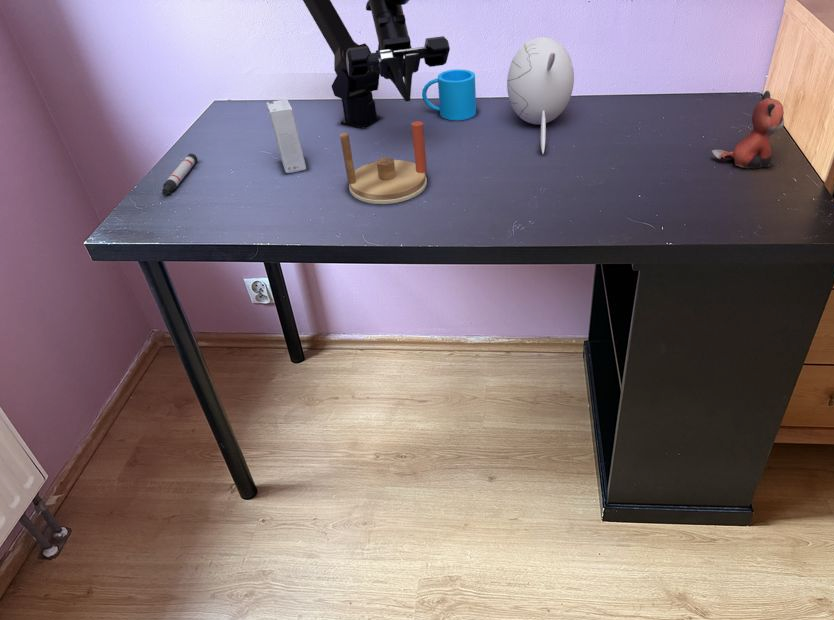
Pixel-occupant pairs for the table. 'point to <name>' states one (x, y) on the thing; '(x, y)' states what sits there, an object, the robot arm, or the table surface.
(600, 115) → the table surface
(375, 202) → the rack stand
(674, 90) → the table surface
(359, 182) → the wooden peg board
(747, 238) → the table surface
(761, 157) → the stuffed fox
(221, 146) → the table surface
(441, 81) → the mug
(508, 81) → the cracked white egg
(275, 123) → the cosmetic box
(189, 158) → the marker
